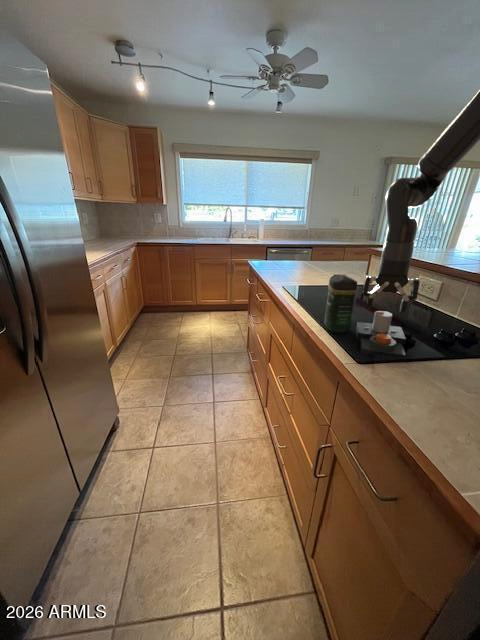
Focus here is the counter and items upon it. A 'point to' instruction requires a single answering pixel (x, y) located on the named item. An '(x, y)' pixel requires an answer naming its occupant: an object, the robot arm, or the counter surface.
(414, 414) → the counter surface
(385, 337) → the power button
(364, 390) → the counter surface
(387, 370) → the counter surface
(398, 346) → the power block
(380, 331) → the timer knob
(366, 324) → the fryer panel
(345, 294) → the coffee jar
